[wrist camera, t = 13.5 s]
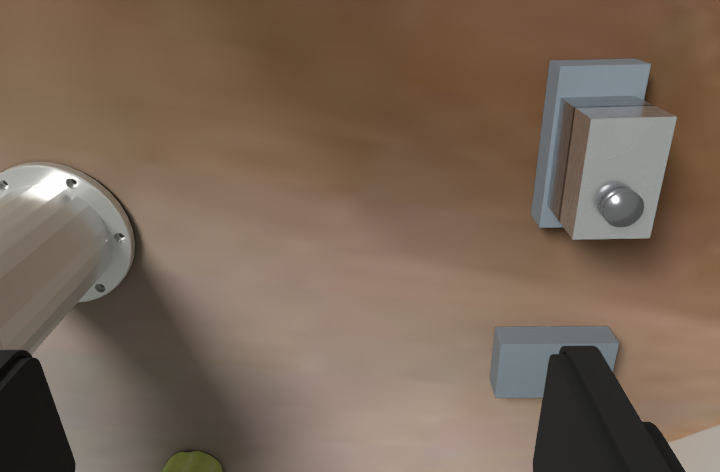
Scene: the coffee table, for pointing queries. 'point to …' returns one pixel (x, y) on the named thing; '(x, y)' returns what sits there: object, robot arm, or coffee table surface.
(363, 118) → the coffee table surface
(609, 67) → the stand
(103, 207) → the robot arm
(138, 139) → the coffee table surface
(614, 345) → the stand
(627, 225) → the block
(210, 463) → the plant pot
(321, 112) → the coffee table surface
